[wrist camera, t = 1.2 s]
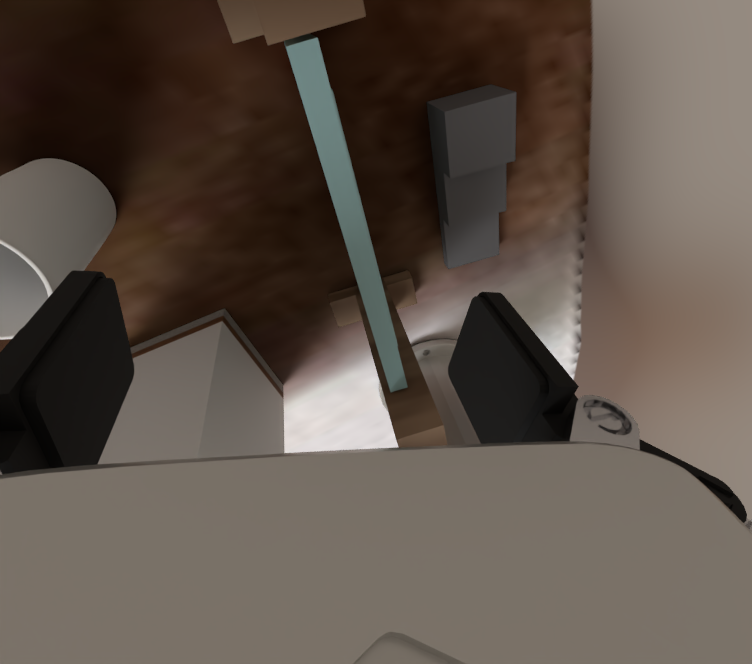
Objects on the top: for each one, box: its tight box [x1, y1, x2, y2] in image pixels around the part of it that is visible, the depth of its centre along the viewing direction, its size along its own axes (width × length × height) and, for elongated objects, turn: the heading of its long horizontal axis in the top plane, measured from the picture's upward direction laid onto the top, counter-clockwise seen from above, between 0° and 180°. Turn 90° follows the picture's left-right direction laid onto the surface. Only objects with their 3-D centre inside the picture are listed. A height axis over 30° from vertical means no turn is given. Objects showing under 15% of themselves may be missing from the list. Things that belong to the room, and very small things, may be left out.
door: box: [284, 34, 408, 392], centre depth 26 cm, size 19×1×14 cm, turn 13°
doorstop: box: [427, 84, 516, 269], centre depth 33 cm, size 5×14×4 cm, turn 12°
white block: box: [98, 308, 284, 464], centre depth 27 cm, size 11×11×35 cm
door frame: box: [217, 0, 447, 447], centre depth 25 cm, size 26×8×18 cm, turn 13°
